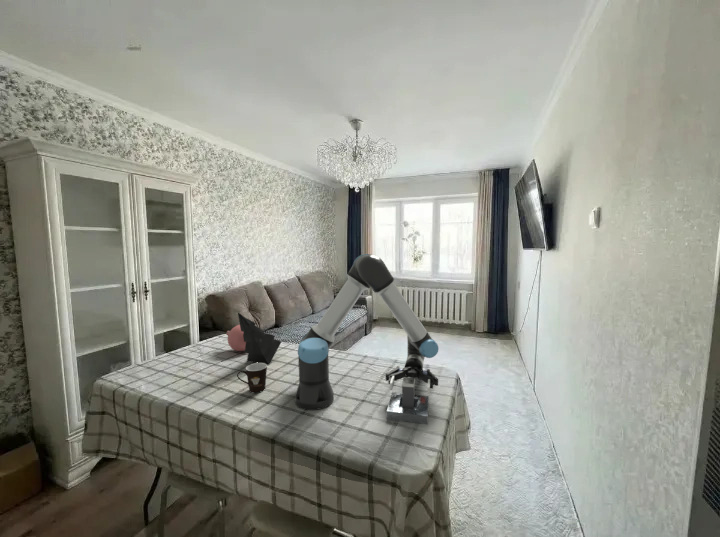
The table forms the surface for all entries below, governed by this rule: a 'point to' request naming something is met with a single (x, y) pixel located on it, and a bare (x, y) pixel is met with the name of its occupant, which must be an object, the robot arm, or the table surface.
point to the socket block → (405, 414)
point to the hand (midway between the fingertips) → (409, 388)
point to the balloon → (236, 339)
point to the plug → (408, 393)
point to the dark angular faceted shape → (257, 342)
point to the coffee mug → (255, 376)
